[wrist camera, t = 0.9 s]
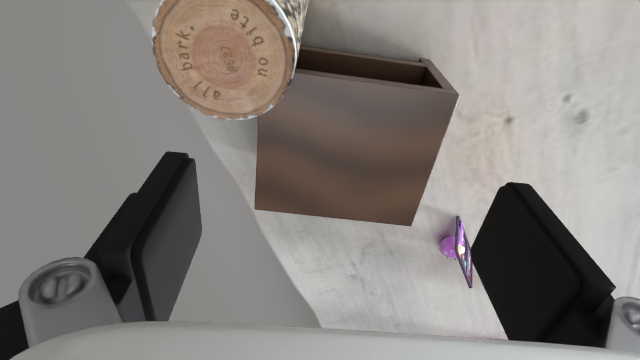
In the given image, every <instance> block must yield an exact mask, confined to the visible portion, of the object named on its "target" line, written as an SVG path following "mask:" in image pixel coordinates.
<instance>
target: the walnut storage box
mask: <svg viewBox="0 0 640 360" xmlns="http://www.w3.org/2000/svg"><path fill="white" fill-rule="evenodd" d="M459 96H460V95H459V94H458V93H457V91H456V90H455V89H454V88H453V87H452V86H451V84H450V83H449V82H448V81H447V80H446V78H445V77H444V76H443V75H442V74H441V72H440V71H439V70H438V69H437V68H436V66H435V65H434V64H433V63H432V62H431V60H429V59H422V58H421V59H420V61H419V62H412V61H405V60H398V59H391V58H384V57H377V56H370V55H363V54H356V53H349V52H342V51H335V50H328V49H321V48H314V47H307V46H300V48H299V53H298V58H297V63H296V68H295V73H294V76H293V79H292V82H291V84H290V86H289V88H288V90H287V92H286V94H285V95H284V96H283V98H282V99H281V100H280V101H279V102H278V103H277V104H276V105H275V106H274V107H273V108H271V109H270V110H268V111H267V112H265V113H263V114H261V115H259V124H258V145H257V167H256V189H255V209H256V210H265V211H274V212H284V213H293V214H302V215H311V216H321V217H330V218H339V219H348V220H358V221H367V222H376V223H385V224H395V225H404V226H411V225H412V222H413V220H414V217H415V214H416V211H417V209H418V206H419V203H420V201H421V198H422V195H423V193H424V190H425V187H426V185H427V182H428V179H429V176H430V174H431V171H432V168H433V166H434V163H435V160H436V158H437V155H438V152H439V150H440V147H441V144H442V142H443V139H444V136H445V133H446V131H447V128H448V125H449V123H450V120H451V117H452V115H453V112H454V109H455V107H456V104H457V101H458V98H459Z"/></svg>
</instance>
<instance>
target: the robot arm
mask: <svg viewBox="0 0 640 360" xmlns="http://www.w3.org/2000/svg"><path fill="white" fill-rule="evenodd" d="M201 233H202V224H201V214H200V204H199V195H198V184H197V174H196V164H195V160H194V159H192V158H189V156H188V154H187V153H179V152H166V153H165V154H164V155H163V157H162V158H161V160H160V161H159V163H158V164H157V165H156V167H155V168H154V170H153V171H152V172H151V174H150V175H149V177H148V178H147V180H146V181H145V183H144V184H143V185H142V187H141V188H140V190H139V191H138V192H137V193H132V194H130V195H129V196H128V197H127V199H126V200H125V201H124V203H123V204H122V206H121V207H120V208H119V210H118V211H117V213H116V214H115V215H114V217H113V218H112V219H111V221H110V222H109V224H108V225H107V226H106V228H105V229H104V230H103V232H102V233H101V234H100V236H99V237H98V239H97V240H96V241H95V243H94V244H93V245H92V247H91V248H90V250H89V251H88V253H87V254H86V255H85V256H84V258H79V257H73V258H64V259H60V260H56V261H53V262H51V263H48V264H46V265H44V266H42V267H40V268H39V269H38V270H36V271H35V272H33V273H31V275H30V276H29V277H28V278H27V279H26V280H25V281H24V282H23V284H22V285H21V287H20V289H19V295H18V296H19V297H18V301H15V302H13V303H11V304H9V305H6V306H4V307H2V308H0V360H640V299H637V298H633V297H620V298H617V299H616V300H614V298H613V297H612V296H611V295H610V294H611V293H612V292H613V290H614V289H615V288H616V287H615V285H614V284H613V283H612V282H611V281H610V279H609V278H608V277H607V276H606V275H605V273H604V272H603V271H602V270H601V269H600V267H599V266H598V265H597V264H596V263H595V262H594V260H593V259H592V258H591V257H590V256H589V254H588V253H587V252H586V251H585V250H584V248H583V247H582V246H581V245H580V244H579V242H578V241H577V240H576V239H575V238H574V236H573V235H572V234H571V233H570V232H569V231H568V229H567V228H566V227H565V226H564V225H563V223H562V222H561V221H560V220H559V219H558V217H557V216H556V215H555V214H554V213H553V211H552V210H551V209H550V208H549V207H548V205H547V204H546V203H545V202H544V201H543V200H542V198H541V197H540V196H539V195H538V194H537V192H536V191H535V190H534V189H533V188H532V186H531V185H529V184H525V183H514V182H509V183H507V184H506V185H505V186H502V187H500V188H499V190H498V192H497V194H496V196H495V198H494V200H493V203H492V205H491V207H490V209H489V211H488V213H487V215H486V217H485V220H484V222H483V224H482V226H481V228H480V230H479V232H478V235H477V237H476V239H475V241H474V243H473V245H472V247H471V251H470V256H471V260H472V262H473V264H474V266H475V268H476V271H477V273H478V275H479V277H480V279H481V281H482V283H483V286H484V288H485V290H486V292H487V294H488V296H489V299H490V301H491V303H492V305H493V307H494V309H495V311H496V314H497V316H498V318H499V320H500V322H501V324H502V326H503V329H504V331H505V333H506V335H507V337H508V339H509V340H498V339H483V338H469V337H454V336H439V335H423V334H407V333H391V332H375V331H359V330H343V329H325V328H307V327H290V326H273V325H255V324H235V323H212V322H186V321H168V320H169V317H170V315H171V312H172V310H173V307H174V305H175V302H176V300H177V297H178V294H179V292H180V289H181V286H182V284H183V282H184V279H185V276H186V274H187V271H188V269H189V266H190V264H191V261H192V258H193V256H194V253H195V251H196V248H197V246H198V243H199V240H200V237H201Z"/></svg>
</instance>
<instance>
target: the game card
mask: <svg viewBox="0 0 640 360" xmlns="http://www.w3.org/2000/svg"><path fill="white" fill-rule="evenodd" d="M459 226H460V229H461V231H460V239H459ZM463 237H464V240H465V246H464V243H463ZM438 248H439V249H440V251H441V253H442V254H443V255H445V256H446V257H447V258H448V257H453V258H454V259H455V260H456V257H457V258H458V261H459V263H460V266H461V268H462V271H463V274H464V276H465V279H466V281H467V284H468V286H469V288H472V264H473V262H472V260H471V256H470V251H471V247H470V245H469V242H468V239H467V236H466V233H465V231H464V228H463V225H462V221H461V219H460V217H459V216H457V217H456V233H455V237H447V238H445V239H443V240H442V242H441V243H440V246H439V247H438ZM464 251H465V259H464V256H463V253H464ZM460 256H461V257H460Z"/></svg>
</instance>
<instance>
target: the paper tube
mask: <svg viewBox="0 0 640 360" xmlns="http://www.w3.org/2000/svg"><path fill="white" fill-rule="evenodd" d="M308 1H309V0H162V1H161V3H160V4H159V6H158V8H157V11H156V13H155V16H154V19H153V25H152V34H151V36H152V48H153V53H154V58H155V60H156V63H157V66H158V68H159V71H160V73H161V74H162V76H163V78H164V80H165V81H166V83H167V84H168V85H169V87H170V88H171V89H172V90H173V92H174V93H175V94H176V95H177V96H178V97H179V98H180V99H182V100H183V101H184V102H185V103H186V104H188V105H189V106H191V107H192V108H194V109H195V110H197V111H199V112H201V113H203V114H206V115H208V116H211V117H214V118H218V119H224V120H245V119H250V118H253V117H256V116H259V115H261V114H263V113H265V112H267V111H268V110H270V109H271V108H273V107H274V106H275V105H276V104H277V103H278V102H279V101H280V100H281V99H282V98H283V96H284V95H285V94H286V92H287V90H288V88H289V86H290V84H291V82H292V79H293V76H294V73H295V68H296V63H297V58H298V53H299V48H300V42H301V37H302V32H303V27H304V22H305V16H306V11H307V6H308Z"/></svg>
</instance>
